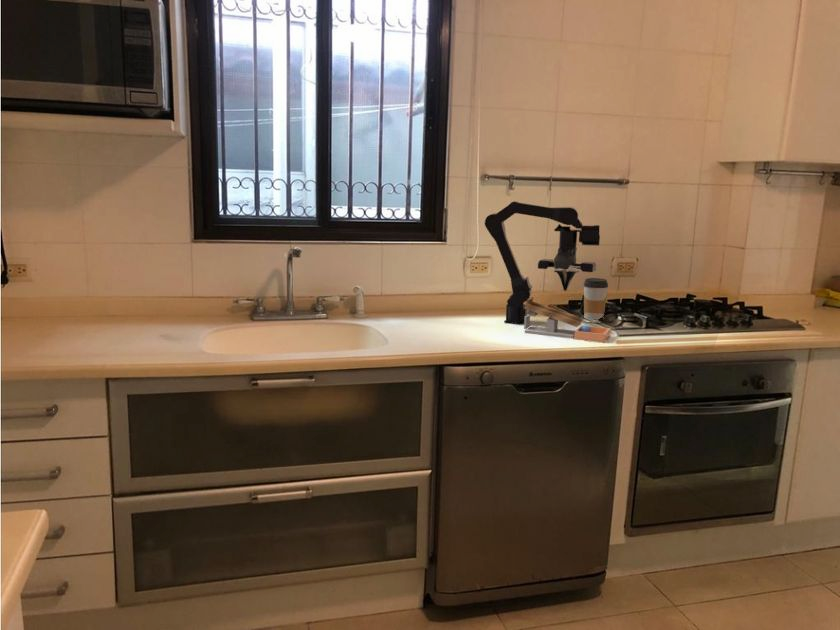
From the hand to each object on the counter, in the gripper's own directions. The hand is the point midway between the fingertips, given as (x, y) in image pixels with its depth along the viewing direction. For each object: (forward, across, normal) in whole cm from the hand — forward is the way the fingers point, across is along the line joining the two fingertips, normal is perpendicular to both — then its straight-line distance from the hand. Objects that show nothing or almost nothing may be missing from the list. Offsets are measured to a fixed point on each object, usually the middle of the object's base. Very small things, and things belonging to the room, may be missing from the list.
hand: (565, 290), depth 224 cm
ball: (+10, +11, -14) cm, 20 cm away
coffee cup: (+12, +8, +10) cm, 18 cm away
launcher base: (+12, 0, -14) cm, 18 cm away
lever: (+8, 0, -12) cm, 14 cm away
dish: (+12, +13, -14) cm, 23 cm away
